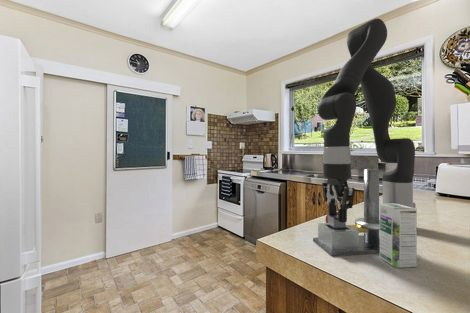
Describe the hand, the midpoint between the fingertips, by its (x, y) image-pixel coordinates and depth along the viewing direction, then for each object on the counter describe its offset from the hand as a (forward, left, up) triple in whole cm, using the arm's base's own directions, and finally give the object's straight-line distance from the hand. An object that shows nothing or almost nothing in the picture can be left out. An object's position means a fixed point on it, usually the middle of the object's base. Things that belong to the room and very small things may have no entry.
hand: (337, 219), depth 67 cm
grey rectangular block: (0, 0, -7) cm, 7 cm away
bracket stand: (-5, 0, -8) cm, 10 cm away
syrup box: (-10, +11, -9) cm, 17 cm away
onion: (-7, -14, -9) cm, 18 cm away
